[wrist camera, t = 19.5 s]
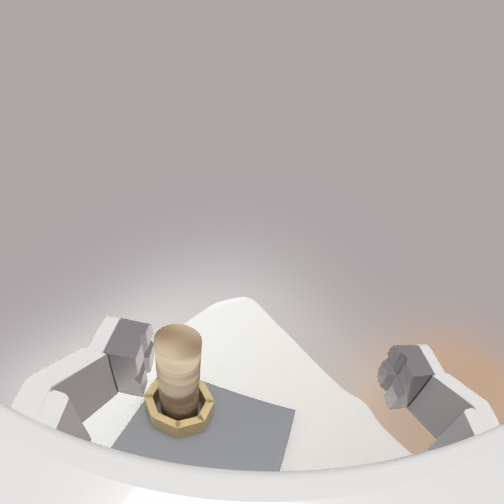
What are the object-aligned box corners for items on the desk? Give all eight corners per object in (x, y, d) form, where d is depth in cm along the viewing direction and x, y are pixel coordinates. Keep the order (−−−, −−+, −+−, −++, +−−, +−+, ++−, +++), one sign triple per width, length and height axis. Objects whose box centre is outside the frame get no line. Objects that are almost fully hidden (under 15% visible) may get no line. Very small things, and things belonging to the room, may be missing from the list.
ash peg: (194, 429, 33) (196, 362, 27) (157, 420, 33) (147, 351, 27) (200, 400, 37) (205, 329, 31) (166, 393, 37) (161, 320, 31)
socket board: (264, 514, 23) (271, 508, 22) (111, 452, 27) (103, 440, 25) (293, 413, 38) (300, 398, 37) (168, 371, 42) (167, 354, 40)
